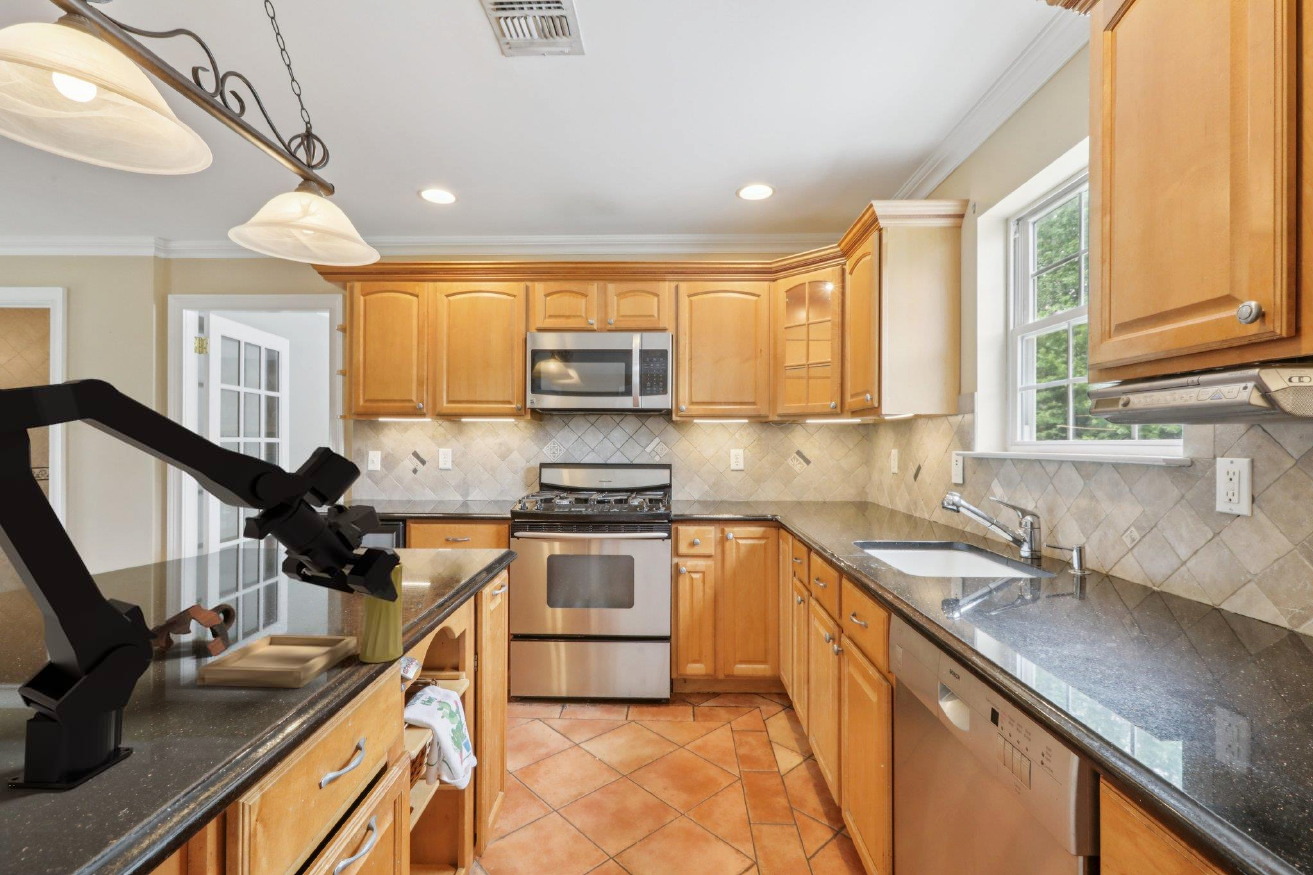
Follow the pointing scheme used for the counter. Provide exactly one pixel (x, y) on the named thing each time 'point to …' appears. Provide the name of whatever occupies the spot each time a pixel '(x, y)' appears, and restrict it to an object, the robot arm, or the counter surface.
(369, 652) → the vase
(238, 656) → the maple tray
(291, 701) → the counter surface
